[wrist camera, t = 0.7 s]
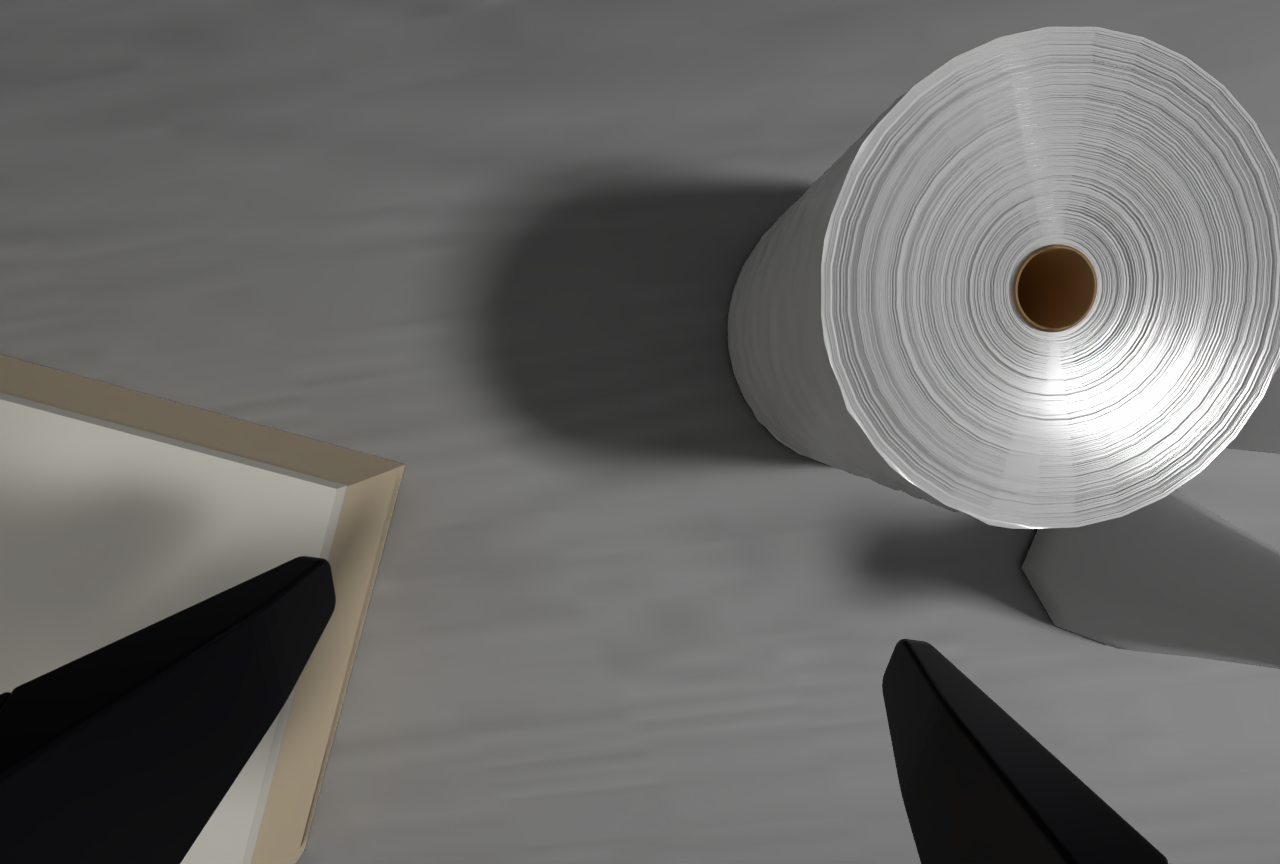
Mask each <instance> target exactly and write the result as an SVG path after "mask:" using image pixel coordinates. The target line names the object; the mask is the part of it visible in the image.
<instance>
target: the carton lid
mask: <svg viewBox="0 0 1280 864" xmlns="http://www.w3.org/2000/svg"><path fill="white" fill-rule="evenodd" d="M346 487H347V485H344V484H340V483H337V482H333V481H329V480H325V479H322V478H318V477H314V476H310V475H307V474H303V473H299V472H295V471H292V470H288V469H284V468H281V467H277V466H273V465H269V464H266V463H262V462H258V461H254V460H251V459H247V458H243V457H239V456H236V455H232V454H228V453H224V452H221V451H217V450H213V449H210V448H206V447H202V446H198V445H195V444H191V443H187V442H183V441H180V440H176V439H172V438H168V437H165V436H161V435H157V434H153V433H150V432H146V431H142V430H139V429H135V428H131V427H127V426H124V425H120V424H116V423H112V422H109V421H105V420H101V419H97V418H94V417H90V416H86V415H82V414H79V413H75V412H71V411H68V410H64V409H60V408H56V407H53V406H49V405H45V404H41V403H38V402H34V401H30V400H26V399H23V398H19V397H15V396H11V395H8V394H4V393H0V694H2V693H4V692H10V693H11V692H12V691H13V689H14V688H16V687H18V686H20V685H22V684H24V683H26V682H28V681H31V680H33V679H35V678H37V677H39V676H41V675H44V674H46V673H48V672H50V671H52V670H54V669H57V668H59V667H61V666H63V665H65V664H67V663H69V662H72V661H74V660H76V659H78V658H80V657H82V656H85V655H87V654H89V653H91V652H93V651H95V650H98V649H100V648H102V647H104V646H106V645H108V644H111V643H113V642H115V641H117V640H119V639H121V638H124V637H126V636H128V635H130V634H132V633H134V632H137V631H139V630H141V629H143V628H145V627H147V626H150V625H152V624H154V623H156V622H158V621H160V620H162V619H165V618H167V617H169V616H171V615H173V614H175V613H178V612H180V611H182V610H184V609H186V608H188V607H191V606H193V605H195V604H197V603H199V602H201V601H204V600H206V599H208V598H210V597H212V596H214V595H217V594H219V593H221V592H223V591H225V590H227V589H229V588H232V587H234V586H236V585H238V584H240V583H242V582H245V581H247V580H249V579H251V578H253V577H255V576H258V575H260V574H262V573H264V572H266V571H268V570H271V569H273V568H275V567H277V566H279V565H281V564H283V563H286V562H288V561H290V560H292V559H294V558H297V557H299V556H309V557H317V558H323V559H326V560H327V561H328V558H329V554H330V550H331V546H332V542H333V538H334V534H335V531H336V527H337V523H338V519H339V515H340V511H341V507H342V503H343V499H344V495H345V491H346ZM295 687H296V685H295ZM295 687H294V689H293V690H292V692H291V694H290V696H289V698H288V699H287V701H286V703H285V705H284V706H283V708H282V709H281V711H280V713H279V714H278V716H277V717H276V719H275V720H274V722H273V723H272V725H271V726H270V728H269V730H268V731H267V733H266V734H265V736H264V737H263V739H262V740H261V742H260V743H259V745H258V746H257V748H256V749H255V751H254V752H253V754H252V755H251V757H250V758H249V760H248V761H247V763H246V764H245V766H244V768H243V769H242V771H241V772H240V774H239V775H238V777H237V778H236V780H235V781H234V783H233V784H232V786H231V787H230V789H229V790H228V792H227V793H226V795H225V796H224V798H223V799H222V801H221V803H220V804H219V806H218V807H217V809H216V810H215V812H214V813H213V815H212V816H211V818H210V819H209V821H208V822H207V824H206V825H205V827H204V828H203V830H202V831H201V833H200V834H199V836H198V837H197V839H196V841H195V842H194V844H193V845H192V847H191V848H190V850H189V851H188V853H187V854H186V856H185V857H184V859H183V860H182V862H181V863H180V864H251V860H252V856H253V852H254V848H255V844H256V840H257V836H258V832H259V828H260V824H261V821H262V817H263V813H264V809H265V805H266V801H267V797H268V793H269V789H270V785H271V781H272V777H273V774H274V770H275V766H276V762H277V758H278V754H279V750H280V746H281V742H282V738H283V734H284V730H285V726H286V723H287V719H288V715H289V711H290V707H291V703H292V699H293V695H294V691H295Z"/></svg>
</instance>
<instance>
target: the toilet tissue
mask: <svg viewBox="0 0 1280 864" xmlns="http://www.w3.org/2000/svg"><path fill="white" fill-rule="evenodd" d="M728 349H729V353H730V358H731V363H732V368H733V373H734V375H735V378H736V380H737V383H738V385H739V388H740V390H741V392H742V394H743V397H744V399H745V400H746V402H747V403H748V405H749V406H750V408H751V409H752V411H753V413H754V415H755V417H756V419H757V421H758V422H759V423H761V424H762V425H763V426H765V427H766V428H767V429H768V430H769V431H770V433H771V434H772V435H773V436H774V437H775V438H776V439H777V440H778V441H779V442H781V443H783V444H784V445H786V446H787V447H789V448H790V449H792V450H794V451H795V452H797V453H798V454H800V455H803V456H806V457H808V458H811V459H814V460H816V461H819V462H822V463H824V464H827V465H830V466H832V467H835V468H837V469H841V470H843V471H846V472H849V473H851V474H854V475H857V476H861V477H865V478H868V479H871V480H873V481H875V482H877V483H878V484H881V485H883V486H886V487H888V488H891V489H894V490H901V491H903V492H905V493H907V494H909V495H911V496H913V497H915V498H918V499H924V500H926V501H928V502H930V503H931V504H935V505H938V506H940V507H943V508H945V509H948V510H950V511H953V512H962V513H964V514H966V515H968V516H970V517H972V518H974V519H976V520H978V521H980V522H982V523H985V524H988V525H992V526H999V527H1005V528H1011V529H1045V528H1071V527H1081V526H1085V525H1089V524H1093V523H1098V522H1102V521H1106V520H1110V519H1114V518H1118V517H1122V516H1125V515H1127V514H1129V513H1131V512H1133V511H1136V510H1138V509H1140V508H1142V507H1144V506H1147V505H1149V504H1151V503H1153V502H1155V501H1158V500H1160V499H1162V498H1164V497H1166V496H1167V495H1169V494H1170V493H1171V492H1173V491H1174V490H1176V489H1177V488H1179V487H1180V486H1181V485H1183V484H1184V483H1186V482H1187V481H1189V480H1190V479H1191V478H1193V477H1194V476H1196V475H1197V474H1199V473H1200V472H1201V471H1203V470H1204V469H1205V468H1206V467H1207V466H1208V465H1209V464H1210V463H1211V462H1212V461H1213V460H1214V459H1215V458H1216V457H1217V456H1218V455H1219V454H1220V453H1221V452H1222V451H1223V450H1224V449H1225V448H1229V449H1239V450H1248V451H1258V452H1268V453H1277V454H1280V163H1279V161H1278V160H1277V158H1276V156H1275V154H1274V153H1273V151H1272V149H1271V147H1270V146H1269V144H1268V142H1267V141H1266V139H1265V137H1264V135H1263V134H1262V132H1261V130H1260V128H1259V127H1258V125H1256V123H1255V121H1254V120H1253V119H1252V118H1251V117H1250V115H1249V114H1248V113H1247V112H1246V111H1245V110H1244V108H1243V107H1242V106H1241V105H1240V104H1239V103H1238V101H1237V100H1236V99H1235V98H1234V97H1233V96H1232V94H1231V93H1230V92H1229V91H1228V90H1227V89H1226V87H1225V86H1224V85H1222V84H1221V83H1220V82H1218V81H1217V80H1216V79H1214V78H1213V77H1212V76H1210V75H1209V74H1208V73H1206V72H1205V71H1204V70H1203V69H1201V68H1200V67H1199V66H1197V65H1196V64H1195V63H1193V62H1192V61H1191V60H1189V59H1188V58H1187V57H1185V56H1183V55H1181V54H1178V53H1176V52H1174V51H1172V50H1170V49H1168V48H1165V47H1163V46H1161V45H1159V44H1157V43H1155V42H1153V41H1150V40H1148V39H1146V38H1144V37H1140V36H1135V35H1131V34H1126V33H1122V32H1117V31H1113V30H1108V29H1104V28H1099V27H1045V28H1040V29H1036V30H1031V31H1026V32H1022V33H1017V34H1012V35H1008V36H1003V37H999V38H997V39H995V40H992V41H990V42H988V43H986V44H983V45H981V46H979V47H977V48H974V49H972V50H970V51H968V52H965V53H963V54H961V55H959V56H956V57H954V58H953V59H951V60H950V61H949V62H947V63H946V64H944V65H943V66H941V67H940V68H939V69H937V70H936V71H934V72H933V73H932V74H930V75H929V76H927V77H926V78H925V79H923V80H922V81H920V82H919V83H918V84H916V85H915V86H913V87H912V88H911V89H910V90H909V91H908V92H906V93H905V94H903V95H902V96H900V97H899V98H897V99H896V100H895V102H894V103H893V104H892V105H891V106H890V107H889V108H888V109H887V110H886V111H885V112H883V113H882V114H881V115H880V116H879V117H878V119H877V120H876V121H875V122H874V123H873V124H872V125H871V126H870V127H869V128H868V129H867V130H866V131H865V133H864V134H863V135H862V136H861V138H859V139H858V140H857V141H856V142H855V143H854V144H853V145H852V146H850V147H849V149H848V150H847V151H846V152H845V153H844V155H842V156H841V157H840V158H839V159H838V160H837V161H836V162H834V164H833V165H832V166H831V167H830V168H829V169H828V170H827V171H826V172H825V173H824V174H823V175H822V176H821V177H820V178H819V179H818V180H817V181H816V182H814V183H813V184H812V186H811V187H810V188H809V189H808V190H807V191H806V193H805V194H804V195H803V196H802V197H801V198H800V199H799V200H797V201H796V202H795V203H794V204H793V205H791V206H790V208H789V209H788V210H786V211H785V213H784V214H783V215H782V216H780V217H779V218H778V219H777V221H776V222H775V223H774V225H773V226H772V227H771V228H770V229H769V230H768V231H767V232H766V233H765V234H764V235H763V236H762V237H761V239H760V241H759V242H758V243H757V245H756V246H755V248H754V249H753V251H752V252H751V254H750V256H749V257H748V259H747V260H746V262H745V264H744V265H743V267H742V270H741V272H740V275H739V277H738V280H737V282H736V285H735V288H734V290H733V293H732V299H731V303H730V308H729V315H728Z"/></svg>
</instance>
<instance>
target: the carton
mask: <svg viewBox="0 0 1280 864" xmlns="http://www.w3.org/2000/svg"><path fill="white" fill-rule="evenodd" d="M0 393H4V394H8V395H11V396H15V397H19V398H23V399H26V400H30V401H34V402H38V403H41V404H45V405H49V406H53V407H56V408H60V409H64V410H68V411H71V412H75V413H79V414H82V415H86V416H90V417H94V418H97V419H101V420H105V421H109V422H112V423H116V424H120V425H124V426H127V427H131V428H135V429H139V430H142V431H146V432H150V433H153V434H157V435H161V436H165V437H168V438H172V439H176V440H180V441H183V442H187V443H191V444H195V445H198V446H202V447H206V448H210V449H213V450H217V451H221V452H224V453H228V454H232V455H236V456H239V457H243V458H247V459H251V460H254V461H258V462H262V463H266V464H269V465H273V466H277V467H281V468H284V469H288V470H292V471H295V472H299V473H303V474H307V475H310V476H314V477H318V478H322V479H325V480H329V481H333V482H337V483H340V484H344V485H347V487H346V491H345V495H344V499H343V503H342V507H341V511H340V515H339V519H338V523H337V527H336V531H335V534H334V538H333V542H332V546H331V550H330V554H329V558H328V562H329V563H330V566H331V571H332V577H333V583H334V589H335V595H336V605H335V609H334V612H333V614H332V616H331V618H330V620H329V622H328V624H327V626H326V628H325V630H324V632H323V634H322V635H321V637H320V639H319V641H318V643H317V645H316V647H315V649H314V651H313V653H312V654H311V656H310V658H309V660H308V662H307V664H306V666H305V668H304V670H303V672H302V673H301V675H300V677H299V679H298V681H297V683H296V687H295V691H294V695H293V699H292V703H291V707H290V711H289V715H288V719H287V723H286V726H285V730H284V734H283V738H282V742H281V746H280V750H279V754H278V758H277V762H276V766H275V770H274V774H273V777H272V781H271V785H270V789H269V793H268V797H267V801H266V805H265V809H264V813H263V817H262V821H261V824H260V828H259V832H258V836H257V840H256V844H255V848H254V852H253V856H252V860H251V864H295V863H296V862H297V860H298V859H299V857H300V856H301V854H302V853H303V851H304V850H305V847H306V843H307V839H308V835H309V831H310V827H311V824H312V820H313V816H314V812H315V808H316V804H317V801H318V797H319V793H320V789H321V785H322V782H323V778H324V774H325V770H326V766H327V762H328V759H329V755H330V751H331V747H332V743H333V739H334V736H335V732H336V728H337V724H338V720H339V716H340V713H341V709H342V705H343V701H344V697H345V694H346V690H347V686H348V682H349V678H350V674H351V671H352V667H353V663H354V659H355V655H356V651H357V648H358V644H359V640H360V636H361V632H362V629H363V625H364V621H365V617H366V613H367V609H368V606H369V602H370V598H371V594H372V590H373V586H374V583H375V579H376V575H377V571H378V567H379V563H380V560H381V556H382V552H383V548H384V544H385V541H386V537H387V533H388V529H389V525H390V521H391V518H392V514H393V510H394V506H395V502H396V498H397V495H398V491H399V487H400V483H401V479H402V476H403V472H404V468H405V464H401V463H398V462H394V461H390V460H387V459H383V458H379V457H376V456H372V455H368V454H364V453H361V452H357V451H353V450H350V449H346V448H342V447H339V446H335V445H331V444H328V443H324V442H320V441H317V440H313V439H309V438H306V437H302V436H298V435H295V434H291V433H287V432H284V431H280V430H276V429H273V428H269V427H265V426H261V425H258V424H254V423H250V422H247V421H243V420H239V419H236V418H232V417H228V416H225V415H221V414H217V413H214V412H210V411H206V410H203V409H199V408H195V407H192V406H188V405H184V404H181V403H177V402H173V401H170V400H166V399H162V398H158V397H155V396H151V395H147V394H144V393H140V392H136V391H133V390H129V389H125V388H122V387H118V386H114V385H111V384H107V383H103V382H100V381H96V380H92V379H89V378H85V377H81V376H78V375H74V374H70V373H67V372H63V371H59V370H55V369H52V368H48V367H44V366H41V365H37V364H33V363H30V362H26V361H22V360H19V359H15V358H11V357H8V356H4V355H0Z"/></svg>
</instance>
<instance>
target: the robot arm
mask: <svg viewBox="0 0 1280 864" xmlns="http://www.w3.org/2000/svg"><path fill="white" fill-rule="evenodd" d="M335 605H336V595H335V589H334V583H333V577H332V571H331V566H330V563H329V562H328V561H327V560H326V559H323V558H317V557H309V556H299V557H297V558H294V559H292V560H290V561H288V562H286V563H283V564H281V565H279V566H277V567H275V568H273V569H271V570H268V571H266V572H264V573H262V574H260V575H258V576H255V577H253V578H251V579H249V580H247V581H245V582H242V583H240V584H238V585H236V586H234V587H232V588H229V589H227V590H225V591H223V592H221V593H219V594H217V595H214V596H212V597H210V598H208V599H206V600H204V601H201V602H199V603H197V604H195V605H193V606H191V607H188V608H186V609H184V610H182V611H180V612H178V613H175V614H173V615H171V616H169V617H167V618H165V619H162V620H160V621H158V622H156V623H154V624H152V625H150V626H147V627H145V628H143V629H141V630H139V631H137V632H134V633H132V634H130V635H128V636H126V637H124V638H121V639H119V640H117V641H115V642H113V643H111V644H108V645H106V646H104V647H102V648H100V649H98V650H95V651H93V652H91V653H89V654H87V655H85V656H82V657H80V658H78V659H76V660H74V661H72V662H69V663H67V664H65V665H63V666H61V667H59V668H57V669H54V670H52V671H50V672H48V673H46V674H44V675H41V676H39V677H37V678H35V679H33V680H31V681H28V682H26V683H24V684H22V685H20V686H18V687H16V688H14V689H13V691H12V692H11V693H10V692H4V693H2V694H0V864H180V863H181V862H182V860H183V859H184V857H185V856H186V854H187V853H188V851H189V850H190V848H191V847H192V845H193V844H194V842H195V841H196V839H197V837H198V836H199V834H200V833H201V831H202V830H203V828H204V827H205V825H206V824H207V822H208V821H209V819H210V818H211V816H212V815H213V813H214V812H215V810H216V809H217V807H218V806H219V804H220V803H221V801H222V799H223V798H224V796H225V795H226V793H227V792H228V790H229V789H230V787H231V786H232V784H233V783H234V781H235V780H236V778H237V777H238V775H239V774H240V772H241V771H242V769H243V768H244V766H245V764H246V763H247V761H248V760H249V758H250V757H251V755H252V754H253V752H254V751H255V749H256V748H257V746H258V745H259V743H260V742H261V740H262V739H263V737H264V736H265V734H266V733H267V731H268V730H269V728H270V726H271V725H272V723H273V722H274V720H275V719H276V717H277V716H278V714H279V713H280V711H281V709H282V708H283V706H284V705H285V703H286V701H287V699H288V698H289V696H290V694H291V692H292V690H293V689H294V687H295V685H296V683H297V681H298V679H299V677H300V675H301V673H302V672H303V670H304V668H305V666H306V664H307V662H308V660H309V658H310V656H311V654H312V653H313V651H314V649H315V647H316V645H317V643H318V641H319V639H320V637H321V635H322V634H323V632H324V630H325V628H326V626H327V624H328V622H329V620H330V618H331V616H332V614H333V612H334V609H335ZM882 688H883V696H884V702H885V707H886V713H887V718H888V724H889V729H890V735H891V740H892V746H893V751H894V757H895V762H896V768H897V774H898V779H899V784H900V788H901V793H902V797H903V801H904V805H905V808H906V812H907V816H908V819H909V823H910V826H911V830H912V833H913V837H914V840H915V843H916V847H917V850H918V854H919V857H920V861H921V864H1168V861H1167V859H1166V857H1165V856H1164V855H1163V854H1161V853H1160V852H1159V851H1158V850H1157V849H1156V848H1155V847H1154V846H1153V845H1152V844H1150V843H1149V842H1148V841H1147V840H1146V839H1145V838H1144V837H1143V836H1142V835H1141V834H1139V833H1138V832H1137V831H1136V830H1135V829H1134V828H1133V827H1132V826H1131V825H1129V824H1128V823H1127V822H1126V821H1125V820H1124V819H1123V818H1122V817H1121V816H1120V815H1118V814H1117V813H1116V812H1115V811H1114V810H1113V809H1112V808H1111V807H1110V806H1109V805H1107V804H1106V803H1105V802H1104V801H1103V800H1102V799H1101V798H1100V797H1099V796H1098V795H1096V794H1095V793H1094V792H1093V791H1092V790H1091V789H1090V788H1089V787H1088V786H1086V785H1085V784H1084V783H1083V782H1082V781H1081V780H1080V779H1079V778H1078V777H1077V776H1075V775H1074V774H1073V773H1072V772H1071V771H1070V770H1069V769H1068V768H1067V767H1066V766H1064V765H1063V764H1062V763H1061V762H1060V761H1059V760H1058V759H1057V758H1056V757H1055V756H1053V755H1052V754H1051V753H1050V752H1049V751H1048V750H1047V749H1046V748H1045V747H1043V746H1042V745H1041V744H1040V743H1039V742H1038V741H1037V740H1036V739H1035V738H1034V737H1032V736H1031V735H1030V734H1029V733H1028V732H1027V731H1026V730H1025V729H1024V728H1023V727H1021V726H1020V725H1019V724H1018V723H1017V722H1016V721H1015V720H1014V719H1013V718H1012V717H1010V716H1009V715H1008V714H1007V713H1006V712H1005V711H1004V710H1003V709H1002V708H1000V707H999V706H998V705H997V704H996V703H995V702H994V701H993V700H992V699H991V698H989V697H988V696H987V695H986V694H985V693H984V692H983V691H982V690H981V689H980V688H978V687H977V686H976V685H975V684H974V683H973V682H972V681H971V680H970V679H969V678H967V677H966V676H965V675H964V674H963V673H962V672H961V671H960V670H959V669H957V668H956V667H955V666H954V665H953V664H952V663H951V662H950V661H949V660H948V659H946V658H945V657H944V656H943V655H942V654H941V653H940V652H939V651H938V650H937V649H935V648H934V647H933V646H932V645H931V644H929V643H927V642H924V641H917V640H909V639H902V640H900V641H899V642H898V643H897V644H896V646H895V649H894V651H893V653H892V656H891V658H890V661H889V663H888V666H887V668H886V671H885V673H884V676H883V683H882Z"/></svg>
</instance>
